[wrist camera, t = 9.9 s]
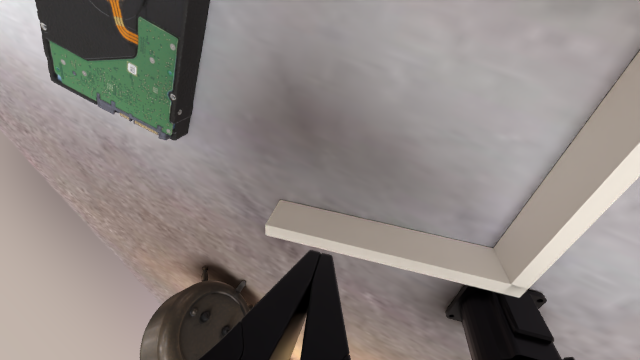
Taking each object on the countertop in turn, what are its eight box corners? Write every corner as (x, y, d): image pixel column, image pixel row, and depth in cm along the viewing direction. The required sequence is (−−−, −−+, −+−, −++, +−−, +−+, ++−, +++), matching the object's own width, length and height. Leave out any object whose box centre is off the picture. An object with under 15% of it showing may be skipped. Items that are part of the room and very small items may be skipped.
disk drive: (54, -189, 13) (83, 76, 21) (-17, -235, 11) (46, 82, 19) (231, -83, 14) (193, 134, 22) (200, -105, 11) (171, 147, 20)
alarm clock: (192, 263, 32) (57, 433, 19) (215, 251, 30) (78, 437, 16) (250, 311, 36) (171, 483, 22) (275, 303, 33) (202, 493, 20)
